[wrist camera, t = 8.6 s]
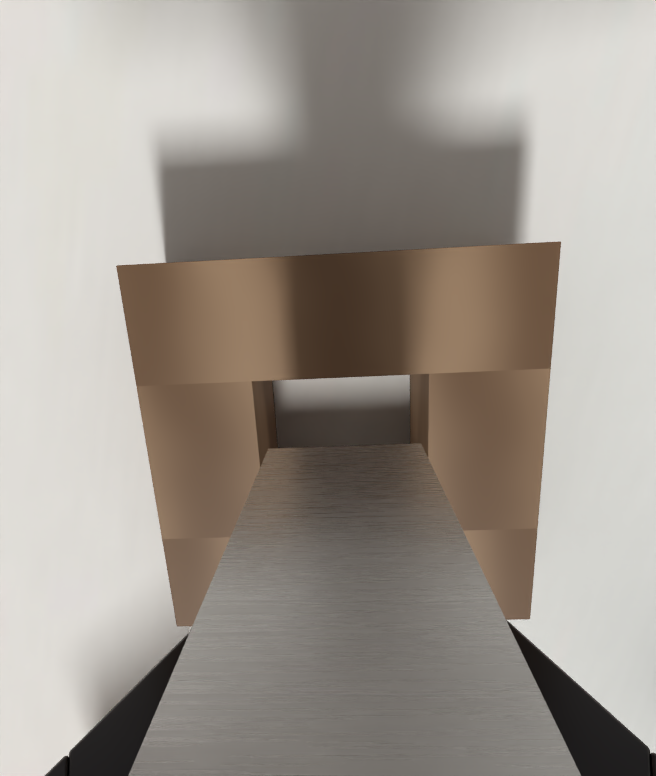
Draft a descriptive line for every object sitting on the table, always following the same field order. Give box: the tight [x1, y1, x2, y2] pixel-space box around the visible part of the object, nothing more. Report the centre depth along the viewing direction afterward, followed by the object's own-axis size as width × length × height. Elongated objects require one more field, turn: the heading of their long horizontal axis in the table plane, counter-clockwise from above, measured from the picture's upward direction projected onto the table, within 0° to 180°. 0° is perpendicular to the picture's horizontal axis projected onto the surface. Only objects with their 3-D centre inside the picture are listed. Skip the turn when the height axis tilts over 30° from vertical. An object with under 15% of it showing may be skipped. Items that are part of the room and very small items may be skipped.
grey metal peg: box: [128, 443, 581, 776], centre depth 7 cm, size 4×4×10 cm
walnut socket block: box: [116, 242, 561, 626], centre depth 17 cm, size 14×14×4 cm
